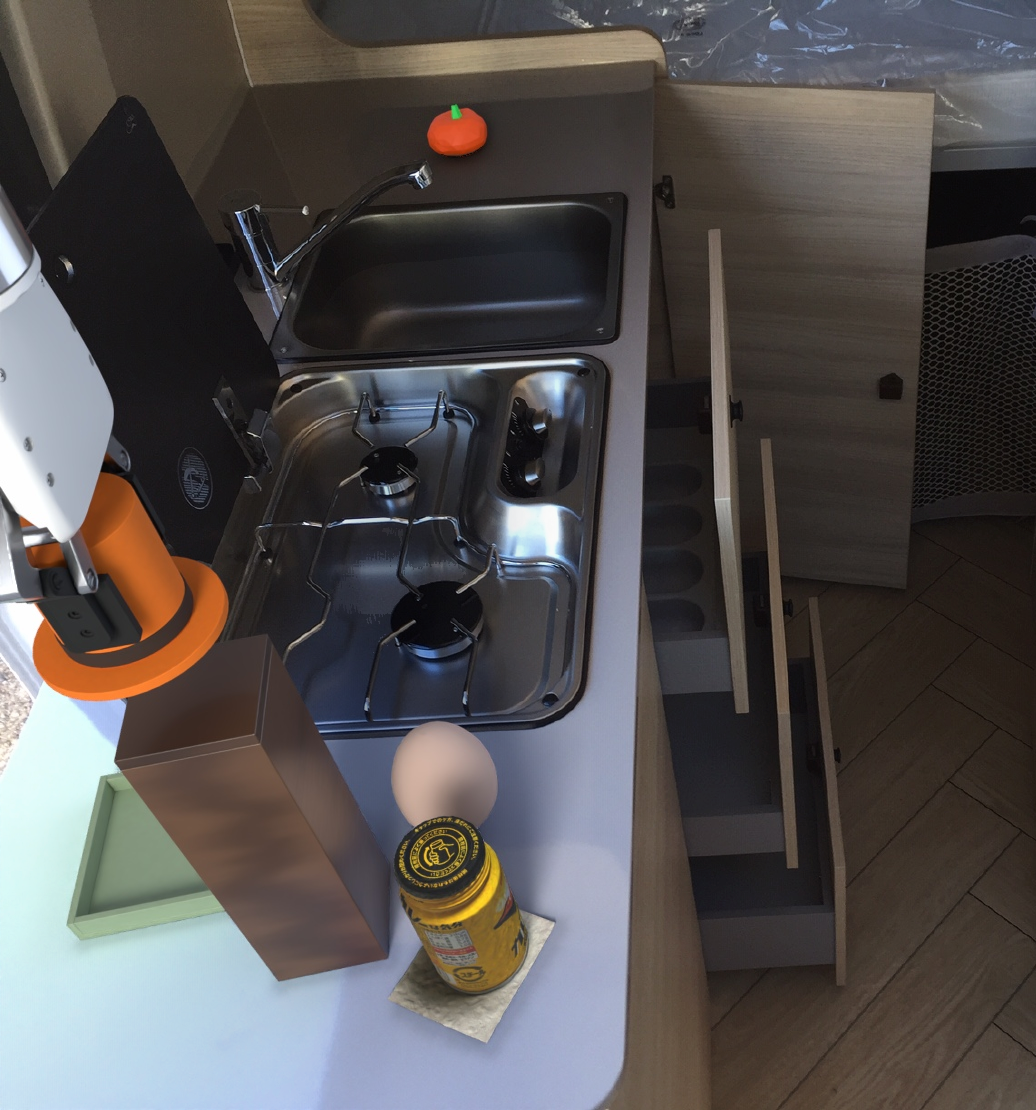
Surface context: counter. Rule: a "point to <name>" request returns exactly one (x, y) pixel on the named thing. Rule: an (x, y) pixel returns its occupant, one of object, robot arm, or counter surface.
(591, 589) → the counter surface
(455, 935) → the condiment
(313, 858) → the stand
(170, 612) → the hat
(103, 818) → the tray
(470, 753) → the egg
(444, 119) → the pumpkin
